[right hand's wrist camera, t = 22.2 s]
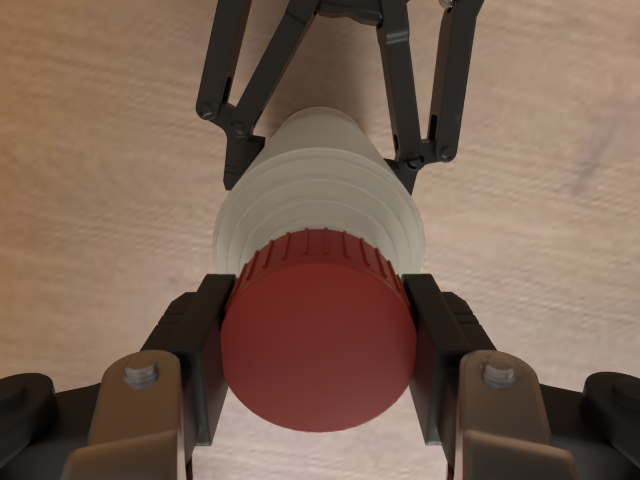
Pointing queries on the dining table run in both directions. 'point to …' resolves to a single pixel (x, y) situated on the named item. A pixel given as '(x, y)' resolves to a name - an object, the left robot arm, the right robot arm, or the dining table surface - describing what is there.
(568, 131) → the dining table surface
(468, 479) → the right robot arm
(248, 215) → the bottle
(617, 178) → the dining table surface
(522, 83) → the dining table surface
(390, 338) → the cap
